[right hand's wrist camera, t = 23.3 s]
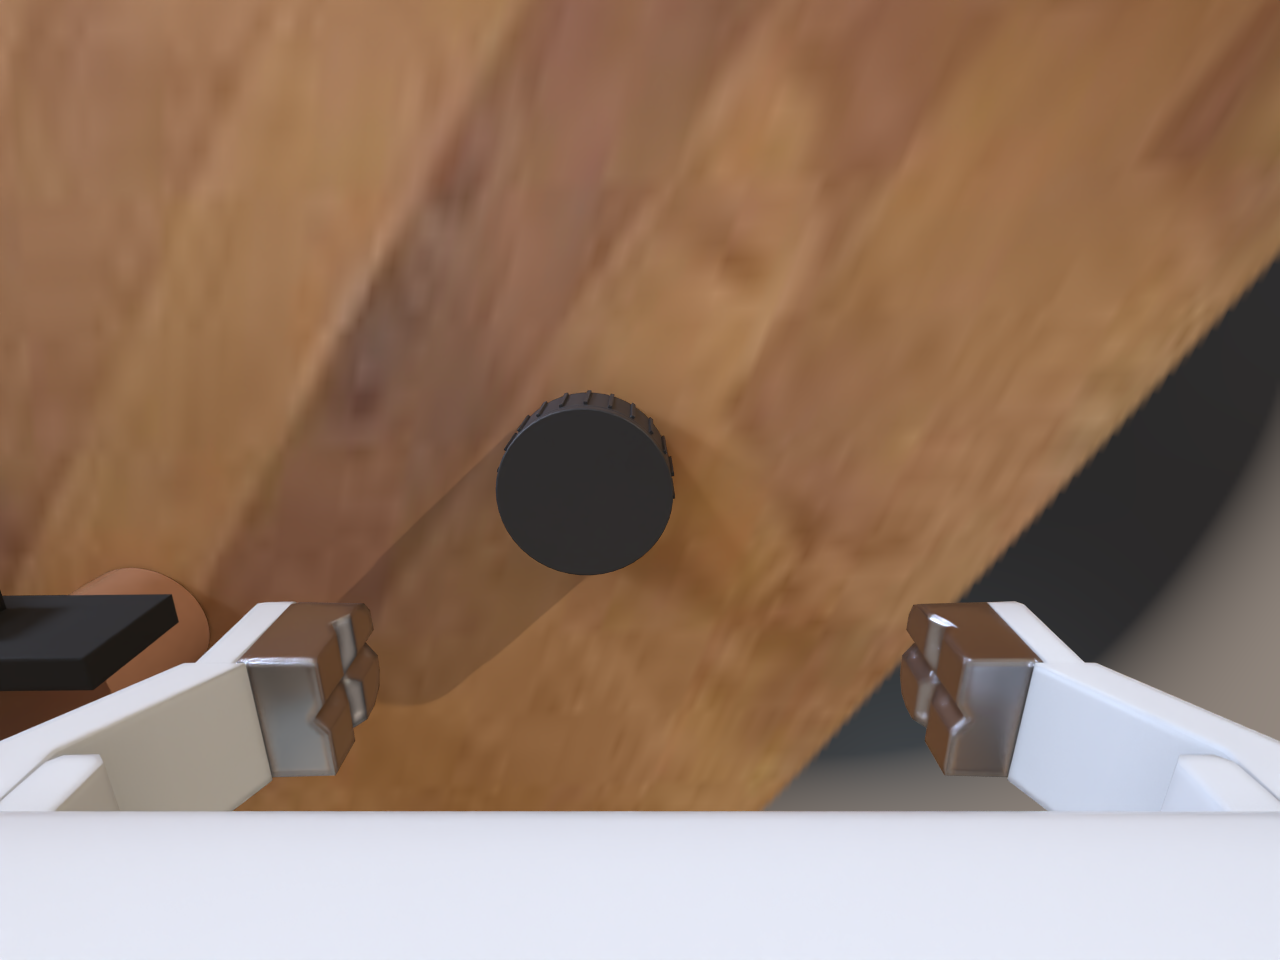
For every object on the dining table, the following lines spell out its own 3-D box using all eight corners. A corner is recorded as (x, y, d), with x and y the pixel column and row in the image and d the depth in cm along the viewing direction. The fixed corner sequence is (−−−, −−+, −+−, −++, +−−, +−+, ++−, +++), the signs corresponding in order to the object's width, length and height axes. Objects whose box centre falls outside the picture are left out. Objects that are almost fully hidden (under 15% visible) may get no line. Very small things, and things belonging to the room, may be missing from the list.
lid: (542, 565, 22) (532, 599, 20) (482, 420, 20) (463, 439, 18) (692, 519, 21) (698, 548, 19) (641, 367, 20) (641, 380, 18)
